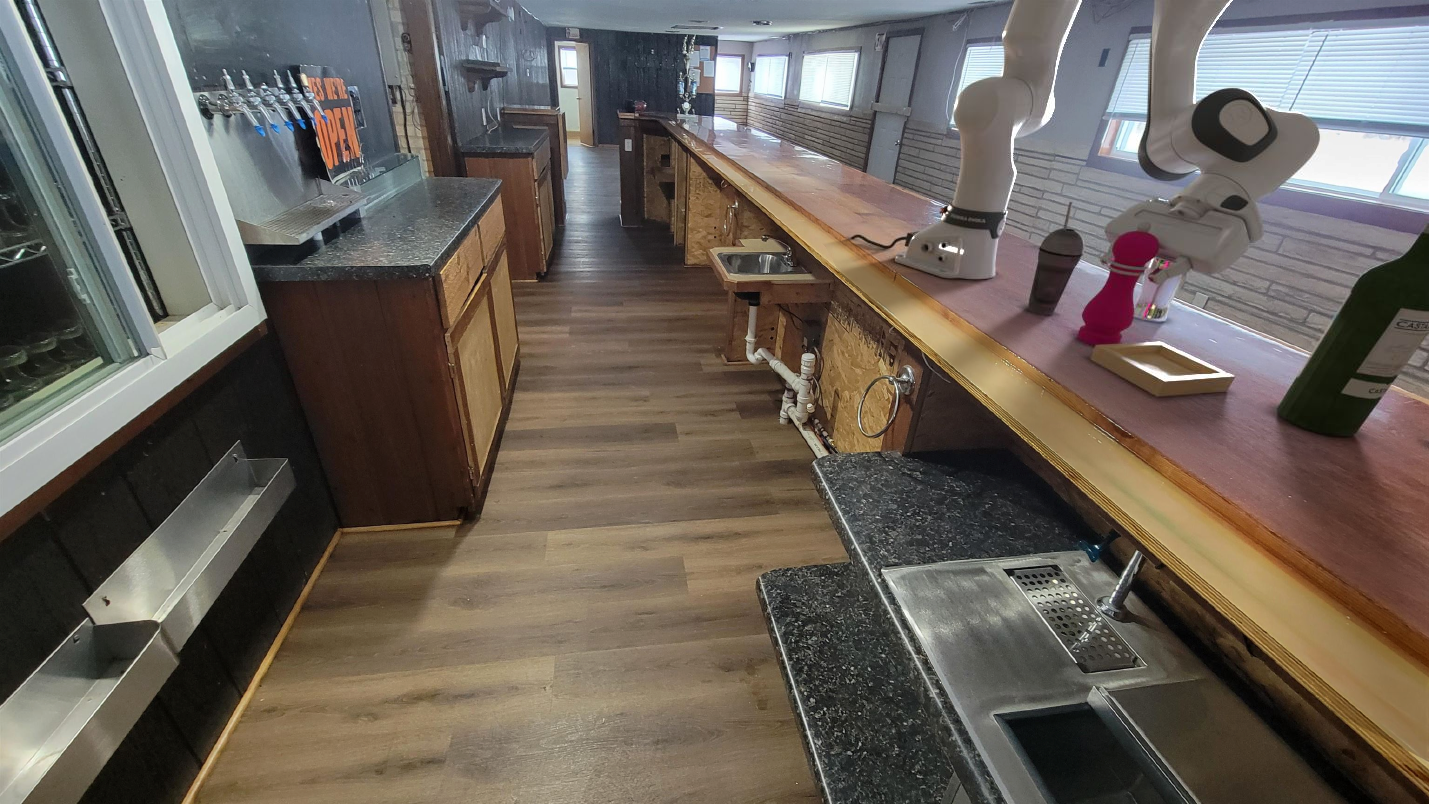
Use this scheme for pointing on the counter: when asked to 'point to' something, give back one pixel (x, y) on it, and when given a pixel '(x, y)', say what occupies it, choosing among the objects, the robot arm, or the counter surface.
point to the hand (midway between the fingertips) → (1127, 272)
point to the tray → (1161, 369)
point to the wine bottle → (1363, 346)
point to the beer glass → (1157, 293)
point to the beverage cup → (1055, 267)
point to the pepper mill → (1119, 288)
